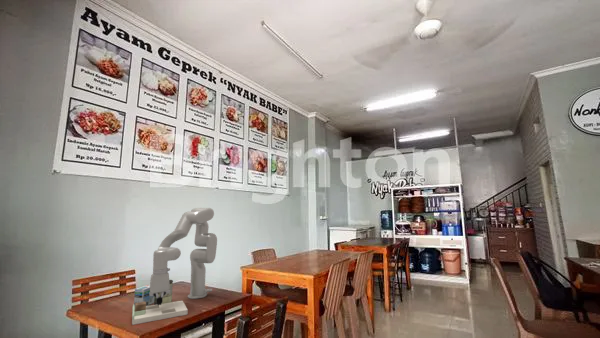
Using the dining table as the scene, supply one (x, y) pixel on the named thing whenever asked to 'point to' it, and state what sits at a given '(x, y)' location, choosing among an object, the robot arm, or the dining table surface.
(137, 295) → the light bulb box
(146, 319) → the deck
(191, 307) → the dining table surface
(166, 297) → the coffee can
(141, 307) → the walnut block
